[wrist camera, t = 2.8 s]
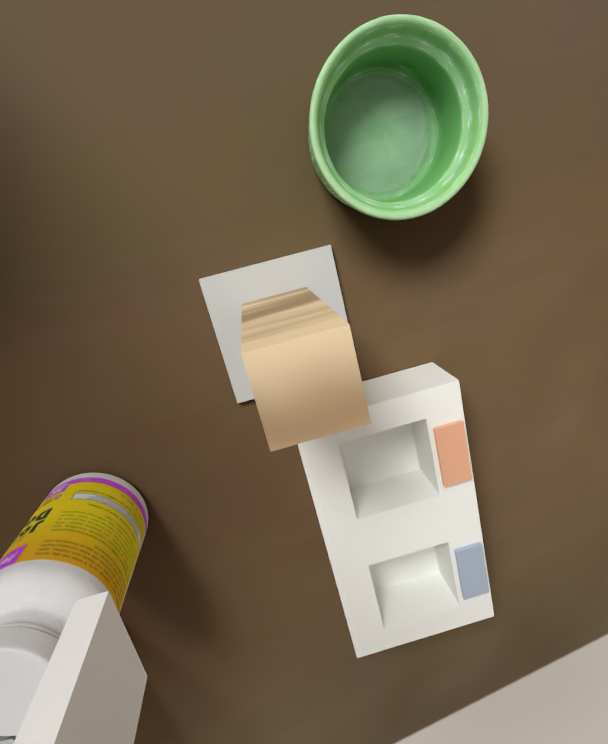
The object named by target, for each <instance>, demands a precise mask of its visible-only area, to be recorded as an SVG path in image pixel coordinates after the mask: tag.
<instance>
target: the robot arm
mask: <svg viewBox="0 0 608 744" xmlns="http://www.w3.org/2000/svg"><path fill="white" fill-rule="evenodd" d="M146 681H147V674H146V672H145V670H144V667H143V665H142V663H141V661H140V659H139V657H138V654H137V652H136V650H135V648H134V646H133V643H132V641H131V639H130V637H129V635H128V632H127V630H126V628H125V626H124V624H123V621H122V619H121V617H120V615H119V613H118V610H117V608H116V606H115V604H114V602H113V599H112V597H111V595H110V593H109V591H107V592H103V593H100V594H96V595H92V596H89V597H85V598H82V599H78V600H76V601H75V603H74V606H73V608H72V610H71V613H70V615H69V617H68V620H67V622H66V624H65V626H64V629H63V631H62V633H61V636H60V638H59V640H58V642H57V645H56V647H55V649H54V652H53V654H52V656H51V659H50V661H49V663H48V665H47V668H46V670H45V672H44V675H43V677H42V679H41V681H40V684H39V686H38V688H37V691H36V693H35V695H34V697H33V700H32V702H31V704H30V707H29V709H28V711H27V714H26V716H25V718H24V720H23V723H22V725H21V727H20V730H19V732H18V734H17V736H16V739H15V741H14V743H13V744H134V740H135V735H136V730H137V725H138V720H139V715H140V710H141V706H142V701H143V696H144V691H145V686H146Z"/></svg>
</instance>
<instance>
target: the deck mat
mask: <svg viewBox="0 0 608 744" xmlns="http://www.w3.org/2000/svg"><path fill="white" fill-rule="evenodd" d="M199 282H200V285H201V289H202V292H203V295H204V298H205V301H206V304H207V308H208V311H209V314H210V317H211V320H212V324H213V327H214V330H215V333H216V336H217V339H218V343H219V346H220V349H221V352H222V355H223V359H224V362H225V365H226V368H227V371H228V375H229V378H230V381H231V384H232V387H233V390H234V394H235V397H236V400H237V403H241V402H244V401H248V400H252V399H255V398H254V395H253V391H252V388H251V385H250V381H249V378H248V375H247V371H246V368H245V365H244V362H243V358H242V355H241V318H242V304H243V303H247V302H251V301H255V300H258V299H262V298H266V297H269V296H273V295H277V294H281V293H284V292H288V291H292V290H296V289H299V288H303V287H307V288H308V289H309V290H310V291H312V292H313V293H314V294H315V295H316V296H317V297H319V298H320V299H321V300H322V301H323V302H324V303H325V304H327V305H328V306H329V307H330V308H331V309H332V310H333V311H335V312H336V313H337V314H338V315H339V316H340V317H342V318H343V319H344V320H345V321H346V322H347V323H348V321H347V317H346V312H345V307H344V303H343V298H342V294H341V289H340V285H339V280H338V276H337V271H336V267H335V262H334V258H333V253H332V249H331V245H326V246H323V247H319V248H315V249H311V250H308V251H304V252H300V253H296V254H292V255H289V256H285V257H281V258H277V259H273V260H270V261H266V262H262V263H258V264H254V265H251V266H247V267H243V268H239V269H235V270H232V271H228V272H224V273H220V274H216V275H213V276H209V277H205V278H201V279H199Z"/></svg>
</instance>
